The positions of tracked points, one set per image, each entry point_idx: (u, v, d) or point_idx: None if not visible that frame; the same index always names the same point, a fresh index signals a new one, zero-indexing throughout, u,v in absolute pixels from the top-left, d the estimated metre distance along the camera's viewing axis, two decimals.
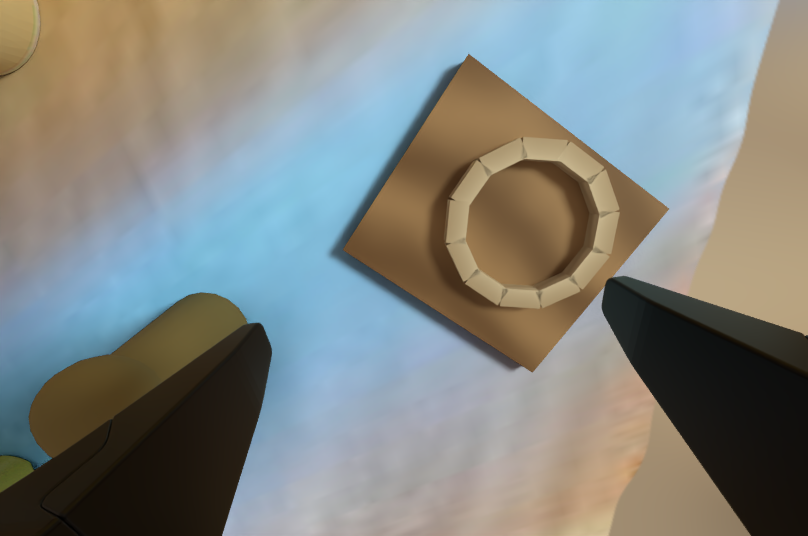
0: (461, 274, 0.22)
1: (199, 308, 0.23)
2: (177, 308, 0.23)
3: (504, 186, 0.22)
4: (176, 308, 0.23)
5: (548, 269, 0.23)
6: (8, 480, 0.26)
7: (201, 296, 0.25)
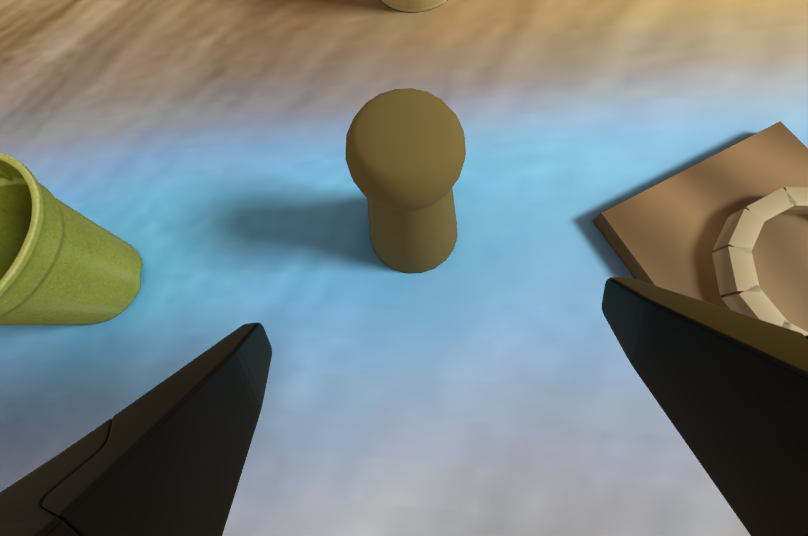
0: (737, 282, 0.20)
1: None
2: None
3: (792, 231, 0.21)
4: None
5: None
6: (124, 257, 0.23)
7: None
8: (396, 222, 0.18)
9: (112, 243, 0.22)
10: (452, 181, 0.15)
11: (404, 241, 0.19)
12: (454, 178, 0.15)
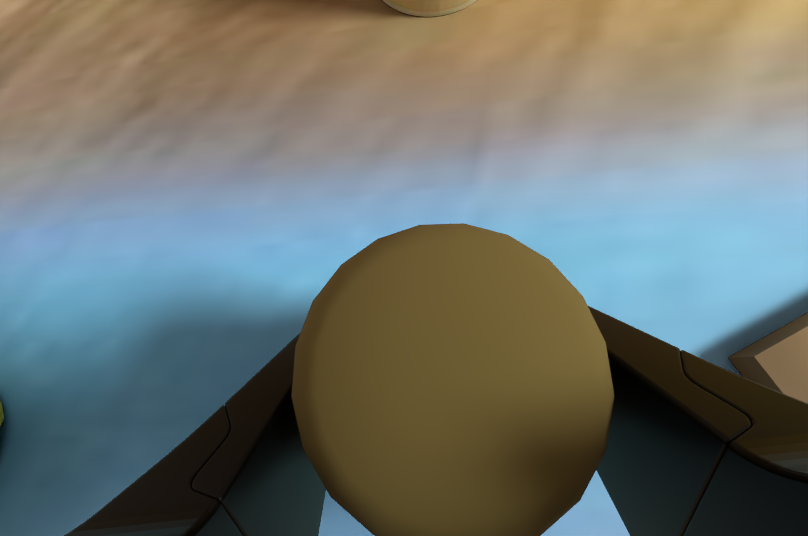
0: None
1: None
2: None
3: None
4: None
5: None
6: None
7: None
8: None
9: None
10: None
11: None
12: None
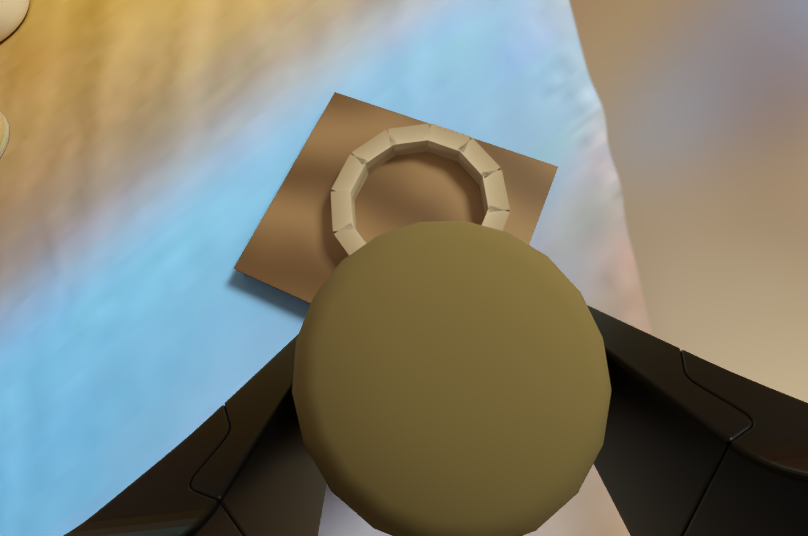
0: None
1: None
2: None
3: (388, 179, 0.23)
4: None
5: None
6: None
7: None
8: None
9: None
10: None
11: None
12: None
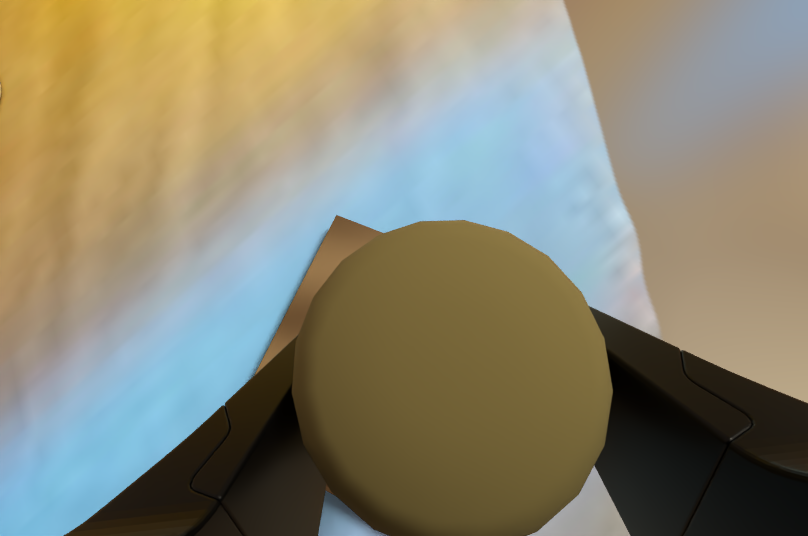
0: None
1: None
2: None
3: None
4: None
5: None
6: None
7: None
8: None
9: None
10: None
11: None
12: None
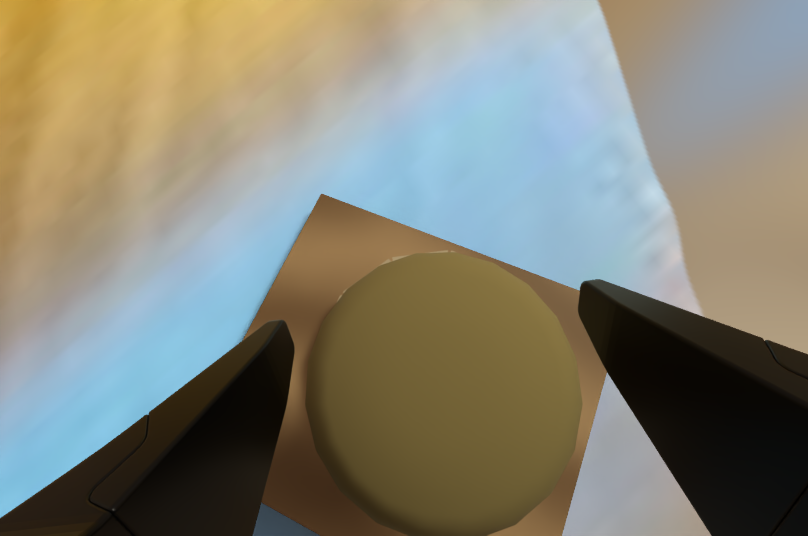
0: None
1: None
2: None
3: None
4: None
5: None
6: None
7: None
8: None
9: None
10: None
11: None
12: None
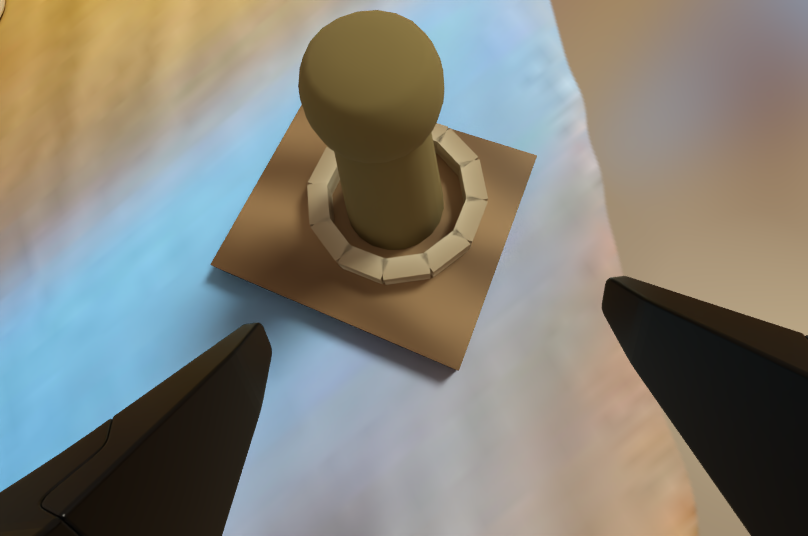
0: (332, 253, 0.20)
1: None
2: None
3: None
4: None
5: (435, 238, 0.21)
6: None
7: None
8: (367, 182, 0.15)
9: None
10: (428, 122, 0.12)
11: (380, 208, 0.17)
12: (430, 118, 0.12)
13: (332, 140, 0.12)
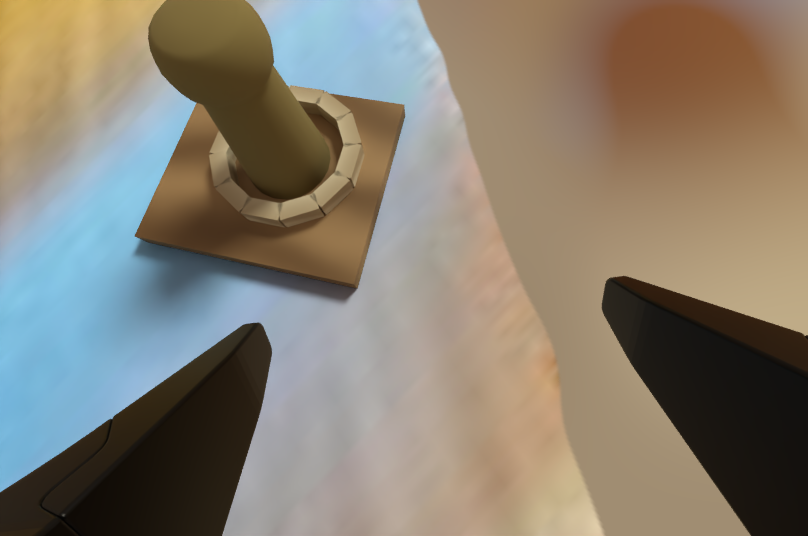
0: (235, 206, 0.23)
1: None
2: None
3: None
4: None
5: None
6: None
7: None
8: (235, 128, 0.19)
9: None
10: (255, 64, 0.16)
11: (257, 154, 0.20)
12: (257, 61, 0.16)
13: (183, 88, 0.16)
